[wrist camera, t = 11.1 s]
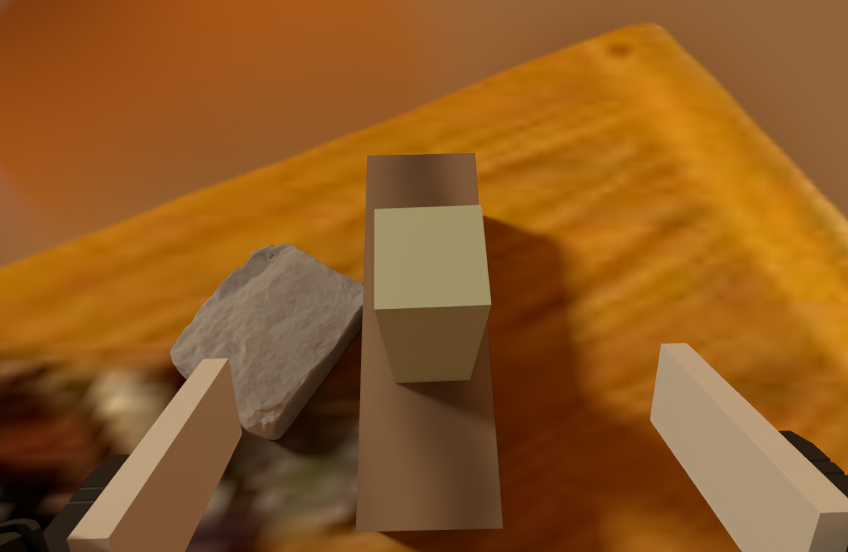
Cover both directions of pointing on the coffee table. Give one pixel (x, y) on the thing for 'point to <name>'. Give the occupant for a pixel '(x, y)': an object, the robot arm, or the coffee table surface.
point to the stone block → (274, 333)
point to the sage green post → (431, 290)
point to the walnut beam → (423, 388)
